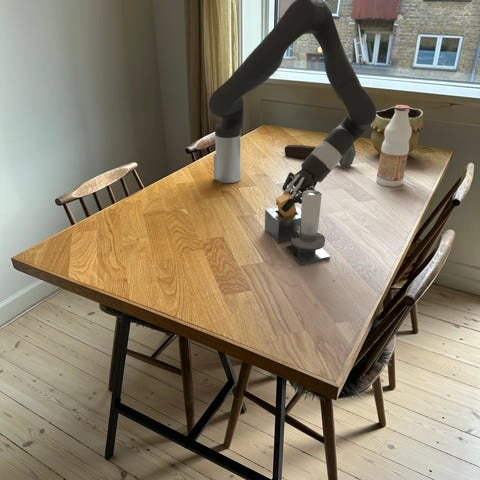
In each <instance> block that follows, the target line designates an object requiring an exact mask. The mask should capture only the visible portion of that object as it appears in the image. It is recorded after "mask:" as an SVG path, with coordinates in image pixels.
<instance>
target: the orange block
mask: <svg viewBox="0 0 480 480" xmlns="http://www.w3.org/2000/svg"><path fill="white" fill-rule="evenodd" d="M290 196H291V195H290V194H289V193H286V194H284V193H283V194H280V195H279V196H278V197H275V203H276V202H277V204H278V206H277V207H278V209H279V213H280V214H282V217H283V218H284V217H289V216H294V215H295V212H296V207H295V205H296V203H295V204H294V205H293V206H292V207H291V208H290V209H289V210H288V211H287V212H284V211H283V210H282V209H281V207H282V206H283V205H284V204H285V203H286V202H287V201H288V200H289V199H290Z"/></svg>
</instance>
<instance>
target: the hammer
mask: <svg viewBox="0 0 480 480" xmlns="http://www.w3.org/2000/svg"><path fill="white" fill-rule="evenodd" d="M354 143H355V142H354ZM354 143H353V145H352V146H351V148H350V149H349V150H348V151H347V152H346V153H345V155H344V156H343V157H342V158H341V159H340V161H339V162H338V164H339V166H340V167H341V168H342V169H349V167H351V166H352V164H353V162H354V159H355V157H356V147H355V144H354ZM316 147H317V146H315V145H304V144H287V145H286V146H284V155H285V157H286V156H287V157H288V158H292V159H293V158H294V159H307V157H308V156H309V155H310V154H311V153H312V152H313V151H314V149H315V148H316ZM287 157H286V158H287Z"/></svg>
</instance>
